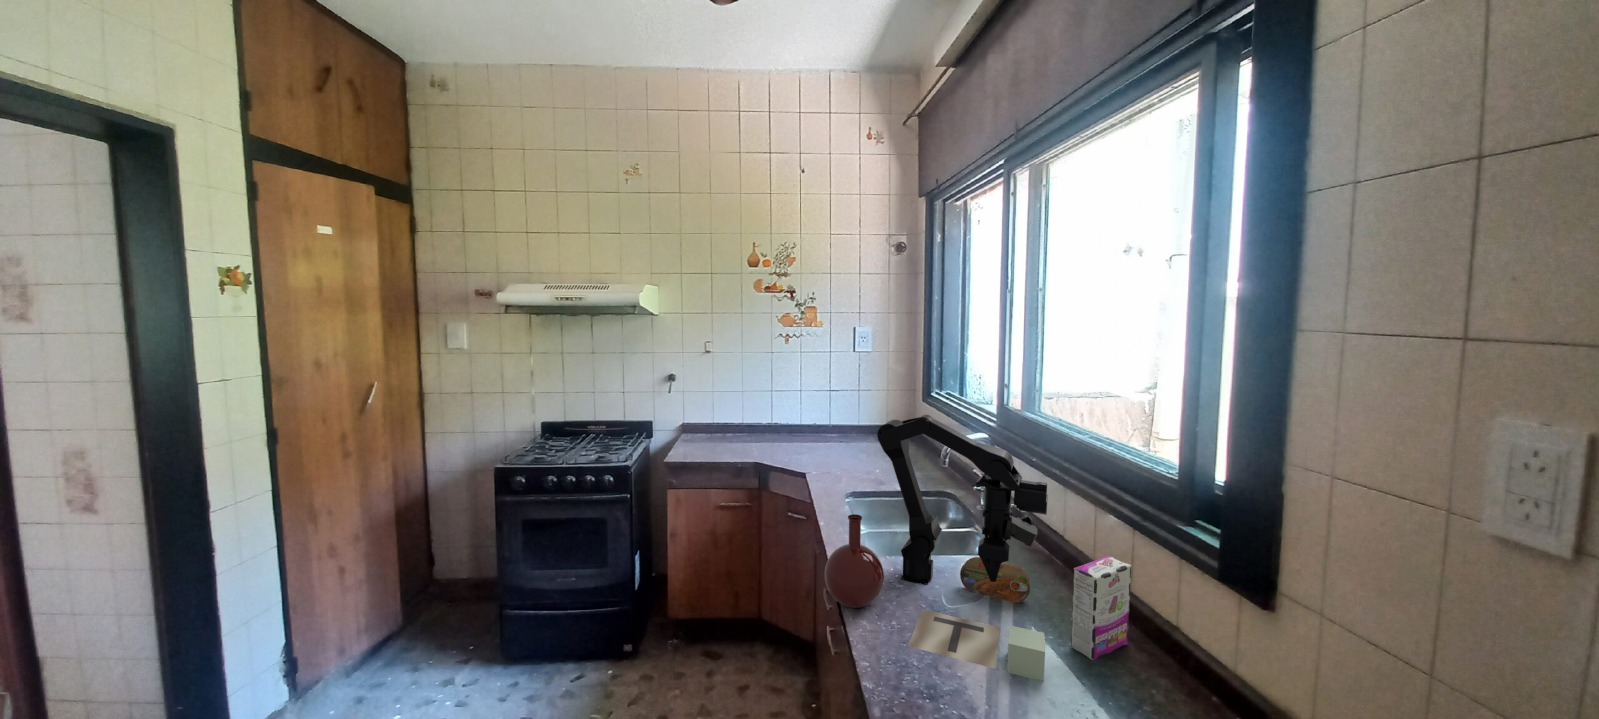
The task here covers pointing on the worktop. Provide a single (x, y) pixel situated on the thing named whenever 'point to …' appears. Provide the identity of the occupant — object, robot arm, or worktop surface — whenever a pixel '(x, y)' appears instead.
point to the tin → (1008, 583)
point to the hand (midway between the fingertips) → (994, 572)
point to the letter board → (956, 638)
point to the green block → (1026, 653)
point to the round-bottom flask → (854, 570)
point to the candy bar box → (1100, 607)
